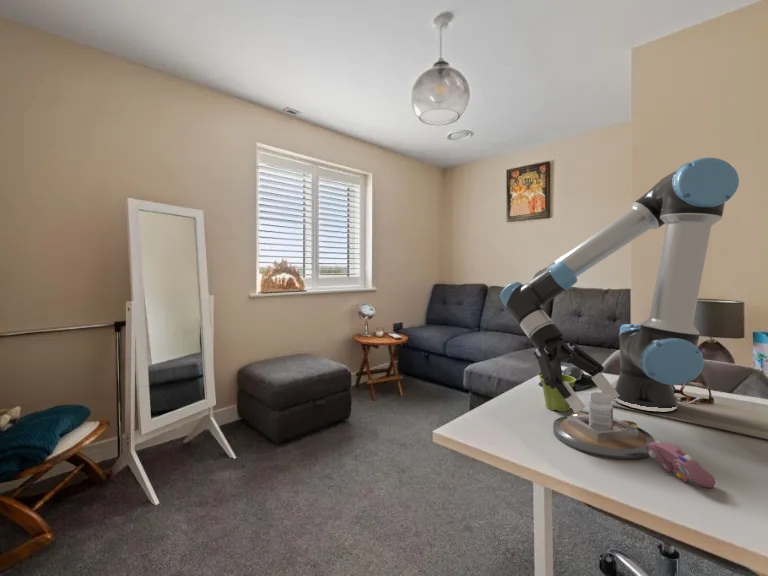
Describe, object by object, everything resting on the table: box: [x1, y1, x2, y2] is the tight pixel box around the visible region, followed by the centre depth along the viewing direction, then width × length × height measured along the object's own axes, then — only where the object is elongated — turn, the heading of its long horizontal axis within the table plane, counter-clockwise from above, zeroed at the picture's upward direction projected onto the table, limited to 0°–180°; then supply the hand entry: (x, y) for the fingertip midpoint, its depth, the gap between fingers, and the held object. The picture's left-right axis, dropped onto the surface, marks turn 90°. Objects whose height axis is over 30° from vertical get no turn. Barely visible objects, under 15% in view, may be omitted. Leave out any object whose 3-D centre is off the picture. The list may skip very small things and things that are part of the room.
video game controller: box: [646, 439, 716, 489], centre depth 67 cm, size 10×5×7 cm, turn 6°
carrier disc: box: [552, 411, 656, 461], centre depth 83 cm, size 20×20×4 cm
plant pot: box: [538, 373, 577, 412], centre depth 102 cm, size 9×9×9 cm
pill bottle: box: [588, 391, 614, 431], centre depth 83 cm, size 5×5×8 cm
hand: (598, 404), depth 83 cm, fingers open, 13 cm apart
